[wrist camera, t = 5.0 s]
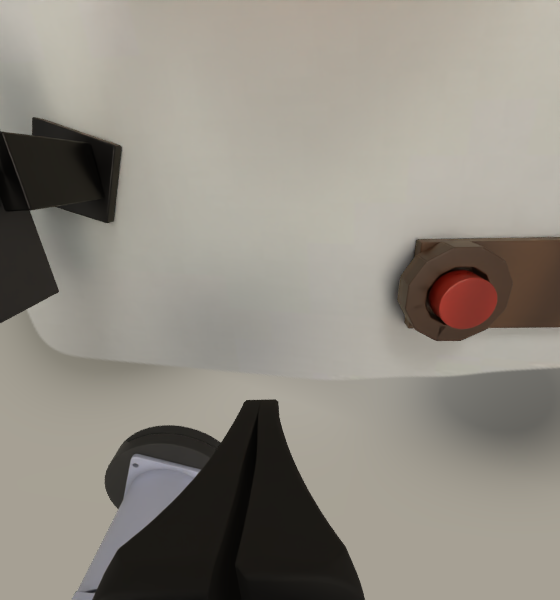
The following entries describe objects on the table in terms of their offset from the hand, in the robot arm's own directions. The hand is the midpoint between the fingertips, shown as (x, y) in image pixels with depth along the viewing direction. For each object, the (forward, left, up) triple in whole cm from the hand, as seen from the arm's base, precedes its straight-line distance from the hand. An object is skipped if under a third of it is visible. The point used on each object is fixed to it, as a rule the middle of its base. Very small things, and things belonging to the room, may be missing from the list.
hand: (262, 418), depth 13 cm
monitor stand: (+5, +15, -10) cm, 19 cm away
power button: (+6, -10, -8) cm, 14 cm away
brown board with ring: (+8, -17, -10) cm, 21 cm away
